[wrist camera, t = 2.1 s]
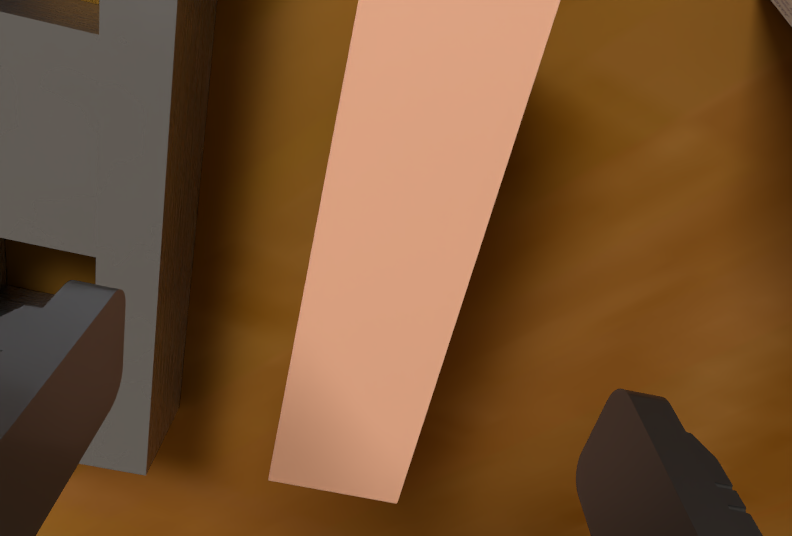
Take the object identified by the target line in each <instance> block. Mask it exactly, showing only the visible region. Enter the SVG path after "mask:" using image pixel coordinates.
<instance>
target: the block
mask: <svg viewBox="0 0 792 536" xmlns="http://www.w3.org/2000/svg"><path fill="white" fill-rule="evenodd" d="M559 3H560V0H359V1H358V6H357V12H356V17H355V22H354V28H353V33H352V38H351V43H350V49H349V54H348V59H347V65H346V70H345V75H344V81H343V86H342V91H341V97H340V102H339V107H338V112H337V118H336V123H335V128H334V134H333V139H332V144H331V150H330V155H329V160H328V166H327V171H326V176H325V181H324V187H323V192H322V197H321V203H320V208H319V213H318V219H317V224H316V229H315V235H314V240H313V245H312V250H311V256H310V261H309V266H308V272H307V277H306V282H305V288H304V293H303V298H302V304H301V309H300V314H299V319H298V325H297V330H296V335H295V341H294V346H293V351H292V357H291V362H290V367H289V373H288V378H287V383H286V388H285V394H284V399H283V404H282V410H281V415H280V420H279V426H278V431H277V436H276V442H275V447H274V452H273V457H272V463H271V468H270V473H269V479H268V480H269V481H275V482H280V483H286V484H291V485H297V486H302V487H308V488H313V489H319V490H324V491H330V492H335V493H341V494H346V495H352V496H357V497H363V498H368V499H374V500H379V501H385V502H391V503H396V504H397V503H398V499H399V496H400V493H401V490H402V487H403V484H404V481H405V478H406V475H407V472H408V469H409V466H410V462H411V459H412V456H413V453H414V450H415V447H416V444H417V441H418V438H419V435H420V432H421V429H422V425H423V422H424V419H425V416H426V413H427V410H428V407H429V404H430V401H431V398H432V395H433V392H434V388H435V385H436V382H437V379H438V376H439V373H440V370H441V367H442V364H443V361H444V358H445V354H446V351H447V348H448V345H449V342H450V339H451V336H452V333H453V330H454V327H455V324H456V321H457V317H458V314H459V311H460V308H461V305H462V302H463V299H464V296H465V293H466V290H467V287H468V284H469V280H470V277H471V274H472V271H473V268H474V265H475V262H476V259H477V256H478V253H479V250H480V247H481V243H482V240H483V237H484V234H485V231H486V228H487V225H488V222H489V219H490V216H491V213H492V209H493V206H494V203H495V200H496V197H497V194H498V191H499V188H500V185H501V182H502V179H503V176H504V172H505V169H506V166H507V163H508V160H509V157H510V154H511V151H512V148H513V145H514V142H515V139H516V135H517V132H518V129H519V126H520V123H521V120H522V117H523V114H524V111H525V108H526V105H527V102H528V98H529V95H530V92H531V89H532V86H533V83H534V80H535V77H536V74H537V71H538V68H539V65H540V61H541V58H542V55H543V52H544V49H545V46H546V43H547V40H548V37H549V34H550V31H551V27H552V24H553V21H554V18H555V15H556V12H557V9H558V6H559Z"/></svg>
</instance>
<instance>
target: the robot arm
mask: <svg viewBox="0 0 792 536" xmlns="http://www.w3.org/2000/svg"><path fill="white" fill-rule="evenodd" d="M125 307H126V299H125V293H124V291H123V290H121V289H116V288H111V287H106V286H101V285H96V284H91V283H85V282H80V281H75V280H70V281H68V282H67V283H66V284H65V285H64V286H63V287H62V288H61V289H60V290H59V291H58V292H57V293H56V294H55V295H54V296H53V298H52V299H51V300H50V301H49V302H48V303H47V304H46V305H45V306H44V307H43V308H40V307H34V306H29V305H24V306H22V307H20V308H18V309H16V310H13V311H11V312H9V313H7V314H5V315H3V316H1V317H0V536H36V534H37V532H38V531H39V529H40V527H41V526H42V524H43V522H44V521H45V519H46V517H47V516H48V514H49V512H50V511H51V509H52V507H53V506H54V504H55V502H56V501H57V499H58V497H59V495H60V494H61V492H62V490H63V489H64V487H65V485H66V484H67V482H68V480H69V479H70V477H71V475H72V474H73V472H74V470H75V469H76V467H77V465H78V464H79V462H80V460H81V459H82V457H83V455H84V454H85V452H86V450H87V448H88V447H89V445H90V443H91V442H92V440H93V438H94V437H95V435H96V433H97V432H98V430H99V428H100V427H101V425H102V423H103V422H104V420H105V418H106V417H107V415H108V413H109V412H110V410H111V408H112V406H113V404H114V402H115V399H116V396H117V393H118V390H119V387H120V383H121V378H122V372H123V353H124V330H125ZM576 486H577V492H578V496H579V499H580V502H581V505H582V508H583V511H584V515H585V518H586V521H587V524H588V527H589V530H590V533H591V536H763V535H762V534H761V532H760V530H759V529H758V527H757V525H756V524H755V522H754V520H753V519H752V517H751V515H750V514H748V513H746V511H745V510H746V507H745V505H744V504H743V502H742V500H741V499H740V497H739V495H738V494H737V492H736V491H734V490H732V486H733V485H732V484H731V482H730V480H729V479H728V477H727V475H726V474H725V472H724V470H723V469H722V467H721V465H720V464H719V462H718V460H717V459H716V458H715V457H714V456H713V455H712V454H711V453H710V452H709V451H708V450H707V449H706V448H705V447H704V446H703V445H702V444H701V443H700V442H699V441H698V440H697V439H696V438H695V437H694V436H693V435H692V434H691V433H687V432H686V431H685V429H684V428H683V426H682V424H681V422H680V421H679V419H678V417H677V415H676V414H675V412H674V410H673V408H672V407H671V405H670V403H669V402H668V401H667V400H666V399H665V398H663V397H660V396H655V395H649V394H644V393H639V392H634V391H629V390H624V389H617V390H615V391H614V392H613V393H612V394H611V395H610V397H609V398H608V400H607V402H606V404H605V406H604V408H603V410H602V412H601V414H600V416H599V418H598V420H597V422H596V424H595V426H594V428H593V430H592V432H591V434H590V436H589V439H588V441H587V443H586V445H585V447H584V449H583V451H582V453H581V455H580V457H579V461H578V465H577V471H576Z"/></svg>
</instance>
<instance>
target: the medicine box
mask: <svg viewBox="0 0 792 536" xmlns="http://www.w3.org/2000/svg"><path fill="white" fill-rule="evenodd" d="M771 2H772V3H773V4H774V5H775V6H776V8H777V9H778V10H779V11H780V13H781V14H782V15H783V17H784V18H785V19H786V20H787V22H788V23H789V24H790V25H791V27H792V0H771Z"/></svg>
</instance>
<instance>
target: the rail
mask: <svg viewBox="0 0 792 536" xmlns="http://www.w3.org/2000/svg"><path fill="white" fill-rule="evenodd" d="M216 8H217V0H100V3H99V5H97V4H93V3H89V2H85V1H81V0H0V317H1V316H3V315H5V314H7V313H9V312H11V311H13V310H16V309H18V308H20V307H22V306H24V305H29V306H34V307H40V308H43V307H44V306H45V305H46V304H47V303H48V302H49V301H50V300H51V299H52V298H53V296H54V295H53V294H48V293H43V292H38V291H33V290H28V289H23V288H18V287H13V286H8V285H7V275H6V258H5V241H4V238H5V239H9V240H14V241H19V242H24V243H29V244H34V245H38V246H43V247H48V248H53V249H58V250H63V251H67V252H72V253H77V254H82V255H87V256H92V257H96V285H101V286H106V287H111V288H116V289H121V290H123V291H124V293H125V299H126V307H125V330H124V353H123V372H122V378H121V383H120V387H119V390H118V393H117V396H116V399H115V402H114V404H113V406H112V408H111V410H110V412H109V413H108V415H107V417H106V418H105V420H104V422H103V423H102V425H101V427H100V428H99V430H98V432H97V433H96V435H95V437H94V438H93V440H92V442H91V443H90V445H89V447H88V448H87V450H86V452H85V454H84V455H83V457H82V459H81V460H80V462H79V464H85V465H90V466H96V467H101V468H107V469H113V470H118V471H124V472H129V473H135V474H140V475H146V474H147V472H148V470H149V468H150V466H151V464H152V462H153V460H154V458H155V456H156V454H157V452H158V450H159V448H160V446H161V444H162V442H163V440H164V437H165V435H166V433H167V431H168V429H169V427H170V425H171V423H172V421H173V419H174V417H175V415H176V413H177V411H178V409H179V405H180V394H181V383H182V373H183V362H184V351H185V341H186V330H187V319H188V308H189V298H190V287H191V276H192V265H193V255H194V244H195V233H196V223H197V212H198V201H199V190H200V180H201V169H202V158H203V147H204V137H205V126H206V115H207V105H208V94H209V83H210V72H211V62H212V51H213V40H214V29H215V19H216Z"/></svg>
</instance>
